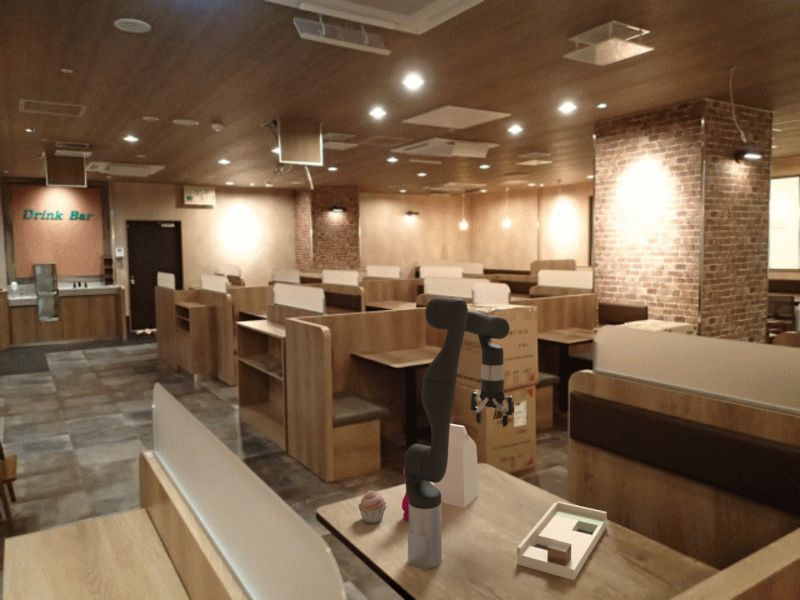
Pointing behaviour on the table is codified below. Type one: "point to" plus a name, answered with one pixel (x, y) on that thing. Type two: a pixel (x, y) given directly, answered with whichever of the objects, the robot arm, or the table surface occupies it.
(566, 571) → the tray
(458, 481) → the milk
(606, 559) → the table surface
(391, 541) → the table surface
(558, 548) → the block
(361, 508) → the cupcake
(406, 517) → the pepper mill
